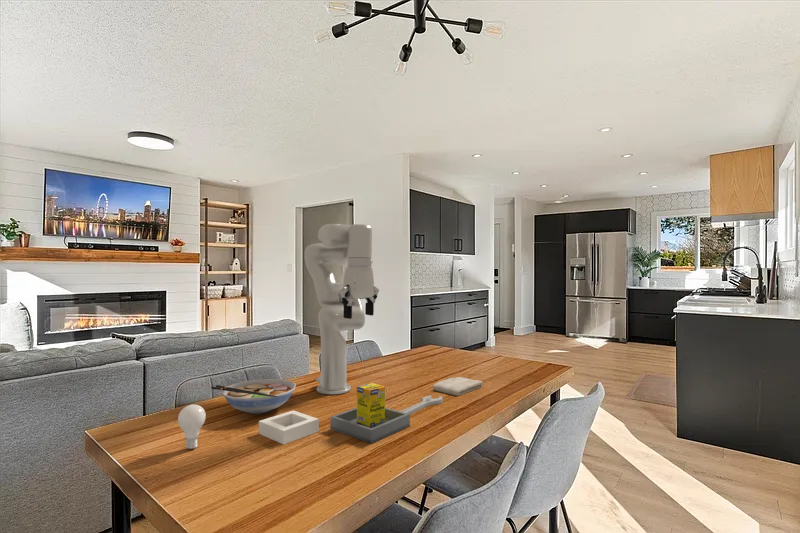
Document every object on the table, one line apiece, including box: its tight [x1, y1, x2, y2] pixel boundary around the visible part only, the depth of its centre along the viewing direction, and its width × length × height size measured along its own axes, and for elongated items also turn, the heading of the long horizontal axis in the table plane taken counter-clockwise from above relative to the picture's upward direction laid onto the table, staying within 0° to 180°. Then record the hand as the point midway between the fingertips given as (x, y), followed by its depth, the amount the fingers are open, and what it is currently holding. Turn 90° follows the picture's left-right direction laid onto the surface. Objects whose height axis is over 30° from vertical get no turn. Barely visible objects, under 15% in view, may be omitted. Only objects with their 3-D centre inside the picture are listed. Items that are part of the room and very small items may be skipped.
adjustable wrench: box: [400, 395, 444, 415], centre depth 139 cm, size 25×6×2 cm, turn 139°
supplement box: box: [356, 382, 386, 428], centre depth 122 cm, size 6×6×11 cm
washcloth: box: [432, 376, 484, 397], centre depth 162 cm, size 12×18×3 cm, turn 139°
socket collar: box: [258, 410, 320, 445], centre depth 118 cm, size 12×12×4 cm
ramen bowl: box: [210, 378, 297, 415], centre depth 137 cm, size 25×23×8 cm
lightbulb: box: [177, 404, 207, 450], centre depth 107 cm, size 6×6×11 cm
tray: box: [330, 406, 411, 445], centre depth 121 cm, size 16×16×4 cm
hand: (358, 316), depth 136 cm, fingers open, 9 cm apart
